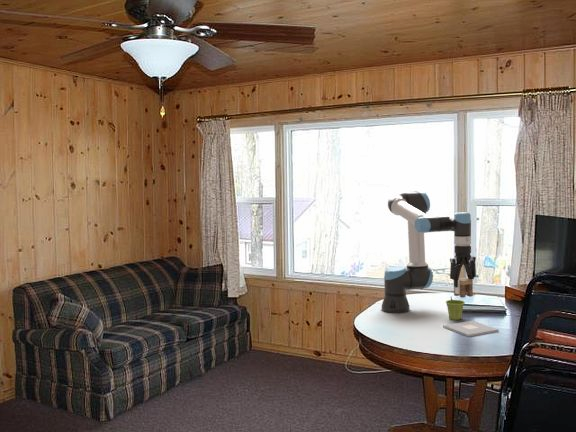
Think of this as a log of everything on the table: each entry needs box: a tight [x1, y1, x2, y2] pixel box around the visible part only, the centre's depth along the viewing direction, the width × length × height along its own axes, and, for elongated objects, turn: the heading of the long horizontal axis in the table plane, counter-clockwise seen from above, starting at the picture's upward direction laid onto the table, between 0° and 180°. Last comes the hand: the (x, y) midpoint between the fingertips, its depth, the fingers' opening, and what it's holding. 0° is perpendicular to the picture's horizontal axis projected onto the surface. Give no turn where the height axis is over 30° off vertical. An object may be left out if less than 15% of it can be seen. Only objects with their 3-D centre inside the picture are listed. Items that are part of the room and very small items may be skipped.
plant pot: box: [445, 299, 466, 321], centre depth 294 cm, size 9×9×9 cm
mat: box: [442, 320, 499, 338], centre depth 274 cm, size 18×18×1 cm
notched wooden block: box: [453, 277, 474, 299], centre depth 272 cm, size 6×6×8 cm
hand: (463, 293), depth 273 cm, fingers closed on notched wooden block, 6 cm apart
